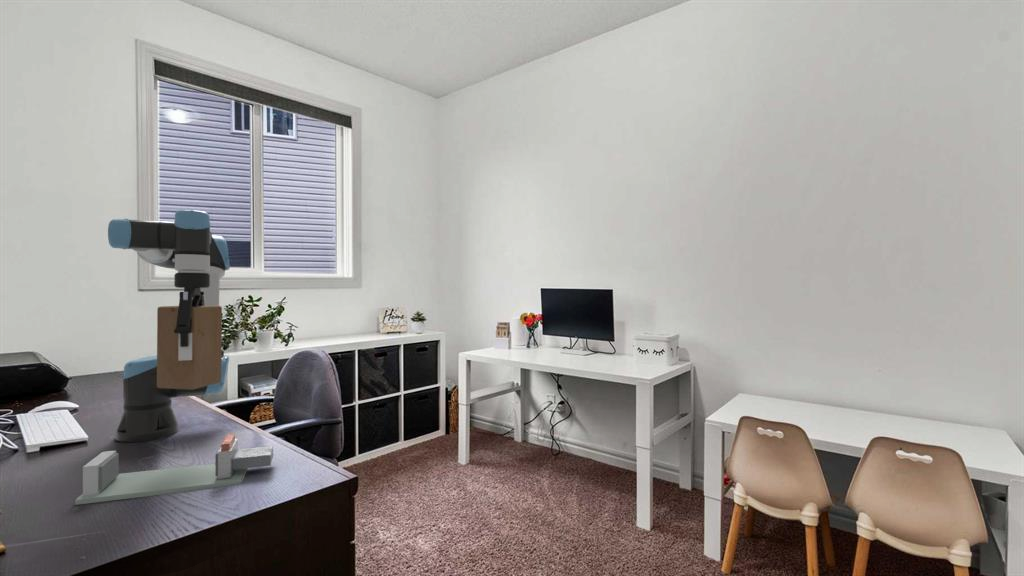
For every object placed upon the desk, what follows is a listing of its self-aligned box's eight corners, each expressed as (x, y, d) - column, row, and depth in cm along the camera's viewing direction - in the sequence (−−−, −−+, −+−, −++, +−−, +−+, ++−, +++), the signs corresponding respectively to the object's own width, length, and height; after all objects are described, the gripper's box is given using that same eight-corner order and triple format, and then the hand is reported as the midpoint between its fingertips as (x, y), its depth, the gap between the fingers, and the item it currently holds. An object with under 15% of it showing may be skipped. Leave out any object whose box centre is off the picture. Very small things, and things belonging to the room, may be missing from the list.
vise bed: (103, 479, 115) (103, 449, 115) (250, 464, 125) (250, 436, 125) (75, 504, 102) (75, 470, 102) (241, 484, 112) (241, 453, 112)
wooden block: (192, 390, 121) (193, 307, 121) (155, 388, 122) (156, 306, 122) (221, 382, 131) (222, 305, 131) (187, 380, 132) (187, 305, 132)
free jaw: (223, 464, 121) (223, 433, 121) (273, 458, 125) (273, 429, 125) (214, 479, 112) (215, 446, 112) (269, 472, 116) (269, 440, 116)
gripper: (187, 273, 137) (187, 350, 137) (159, 270, 114) (159, 364, 114) (218, 273, 139) (218, 349, 140) (198, 271, 116) (197, 362, 116)
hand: (192, 356), depth 127 cm, fingers closed on wooden block, 13 cm apart
